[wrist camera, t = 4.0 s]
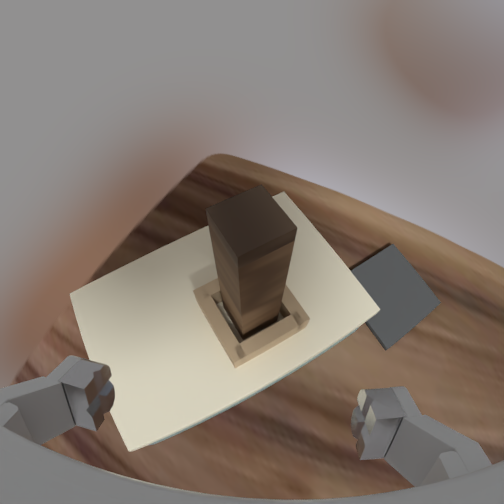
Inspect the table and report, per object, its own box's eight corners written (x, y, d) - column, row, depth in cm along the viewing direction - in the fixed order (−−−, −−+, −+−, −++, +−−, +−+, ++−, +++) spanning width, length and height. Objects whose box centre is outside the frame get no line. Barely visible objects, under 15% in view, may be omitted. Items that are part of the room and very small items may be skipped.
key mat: (391, 246, 35) (392, 243, 35) (438, 304, 31) (440, 302, 30) (334, 282, 33) (335, 280, 32) (385, 350, 28) (387, 349, 28)
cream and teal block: (279, 227, 36) (285, 177, 29) (358, 332, 30) (389, 299, 23) (95, 317, 30) (59, 283, 23) (152, 448, 23) (118, 452, 17)
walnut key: (256, 290, 25) (261, 184, 15) (277, 321, 24) (297, 227, 14) (223, 308, 25) (205, 208, 14) (243, 340, 23) (237, 257, 13)
